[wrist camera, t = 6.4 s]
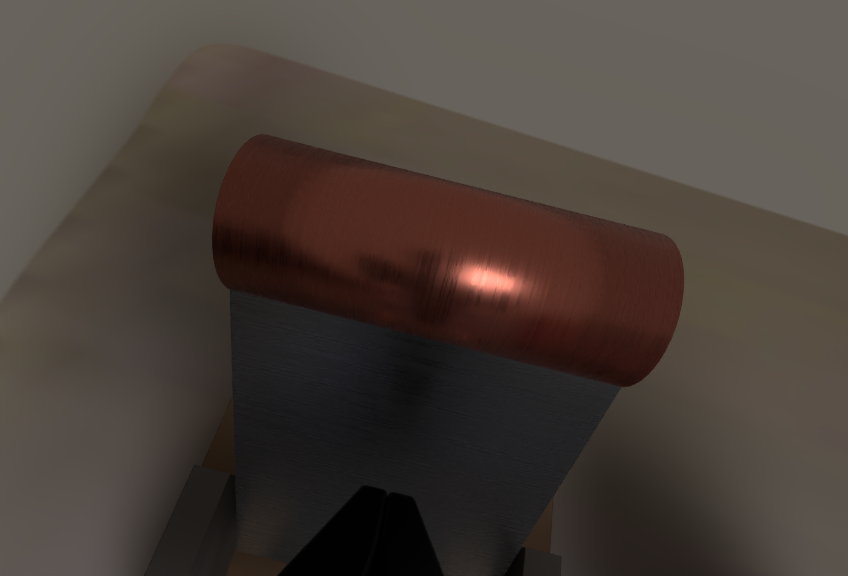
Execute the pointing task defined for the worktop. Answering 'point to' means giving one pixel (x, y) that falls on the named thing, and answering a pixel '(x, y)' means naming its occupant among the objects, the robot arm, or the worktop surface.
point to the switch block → (217, 531)
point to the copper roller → (421, 345)
